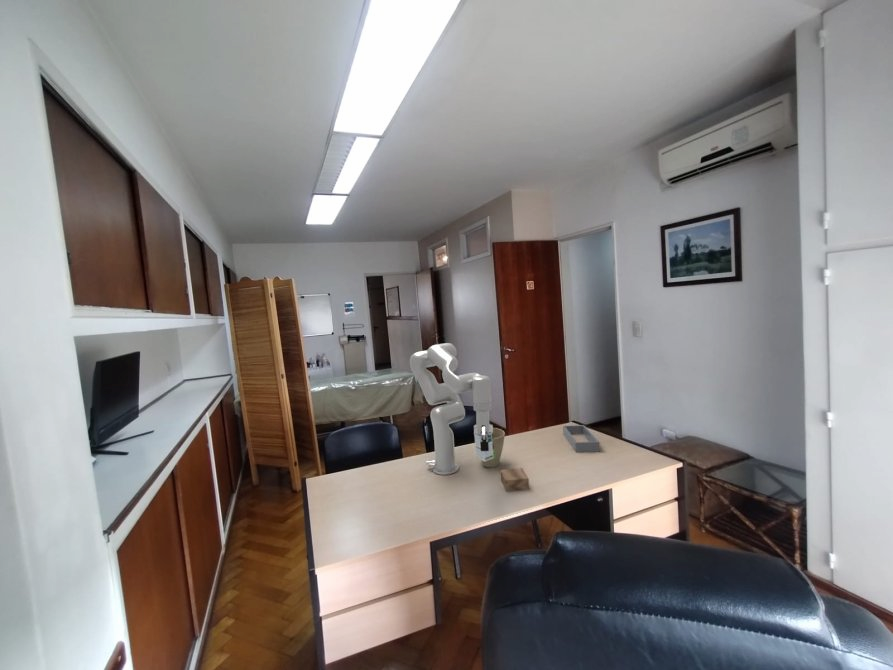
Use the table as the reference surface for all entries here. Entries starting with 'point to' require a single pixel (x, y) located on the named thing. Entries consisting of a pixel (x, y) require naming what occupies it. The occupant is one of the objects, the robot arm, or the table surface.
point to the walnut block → (514, 479)
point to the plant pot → (496, 448)
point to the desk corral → (581, 446)
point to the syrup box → (488, 454)
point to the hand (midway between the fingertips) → (484, 446)
